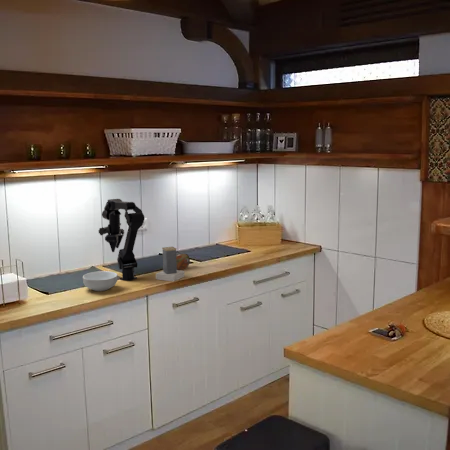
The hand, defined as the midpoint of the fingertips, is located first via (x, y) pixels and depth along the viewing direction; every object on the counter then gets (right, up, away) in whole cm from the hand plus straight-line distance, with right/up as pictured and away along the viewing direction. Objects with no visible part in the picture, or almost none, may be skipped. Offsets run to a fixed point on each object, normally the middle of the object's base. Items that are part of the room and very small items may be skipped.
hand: (115, 250), depth 300 cm
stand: (+31, -14, -8) cm, 35 cm away
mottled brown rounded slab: (+34, -12, +11) cm, 38 cm away
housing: (+31, -11, -9) cm, 34 cm away
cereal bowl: (-2, -18, -28) cm, 33 cm away
